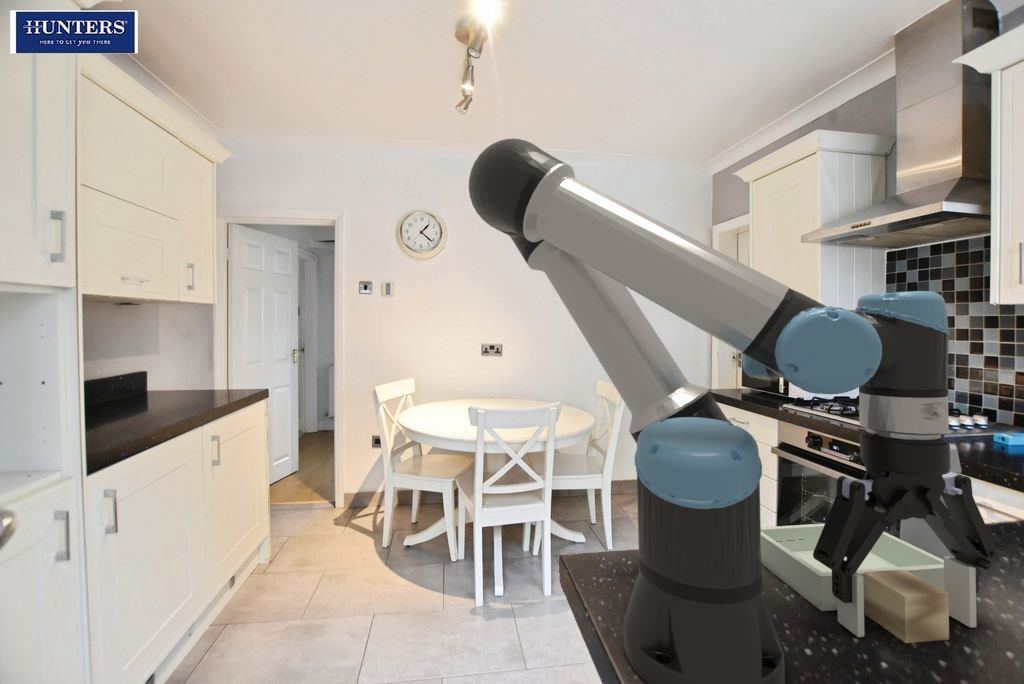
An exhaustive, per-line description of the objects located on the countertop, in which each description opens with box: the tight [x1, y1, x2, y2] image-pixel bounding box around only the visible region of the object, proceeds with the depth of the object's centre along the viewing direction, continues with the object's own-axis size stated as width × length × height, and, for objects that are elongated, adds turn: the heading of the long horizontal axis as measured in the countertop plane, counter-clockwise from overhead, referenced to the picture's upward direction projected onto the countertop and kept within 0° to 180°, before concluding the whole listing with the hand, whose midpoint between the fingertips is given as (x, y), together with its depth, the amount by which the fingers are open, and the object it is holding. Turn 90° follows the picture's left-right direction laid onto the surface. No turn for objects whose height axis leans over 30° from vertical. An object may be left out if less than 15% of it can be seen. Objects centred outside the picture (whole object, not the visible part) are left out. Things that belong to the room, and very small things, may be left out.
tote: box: [761, 523, 944, 612], centre depth 61 cm, size 18×14×4 cm
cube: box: [864, 569, 950, 644], centre depth 50 cm, size 5×5×5 cm
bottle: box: [899, 433, 963, 560], centre depth 64 cm, size 7×7×20 cm
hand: (906, 624), depth 50 cm, fingers open, 12 cm apart
